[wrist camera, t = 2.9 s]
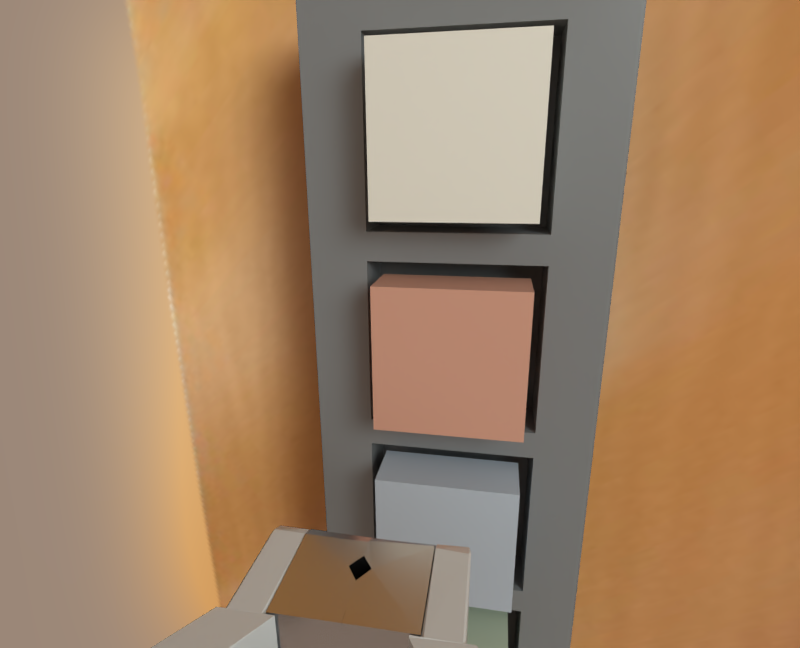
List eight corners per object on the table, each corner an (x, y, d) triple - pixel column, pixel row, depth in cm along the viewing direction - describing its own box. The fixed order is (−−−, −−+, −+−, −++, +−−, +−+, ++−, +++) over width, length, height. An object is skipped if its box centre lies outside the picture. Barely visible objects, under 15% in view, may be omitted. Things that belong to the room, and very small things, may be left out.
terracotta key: (521, 414, 18) (523, 442, 17) (386, 403, 19) (373, 429, 18) (530, 278, 17) (534, 292, 15) (383, 273, 18) (369, 286, 16)
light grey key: (510, 571, 21) (511, 612, 19) (388, 555, 21) (377, 593, 20) (518, 462, 19) (519, 495, 17) (386, 450, 20) (374, 479, 18)
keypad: (550, 661, 26) (558, 745, 22) (359, 630, 28) (337, 703, 24) (618, 13, 17) (649, -28, 14) (335, 29, 19) (295, -3, 15)
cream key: (535, 217, 16) (539, 223, 15) (383, 215, 17) (368, 221, 15) (547, 43, 15) (554, 25, 13) (380, 50, 16) (364, 35, 14)
